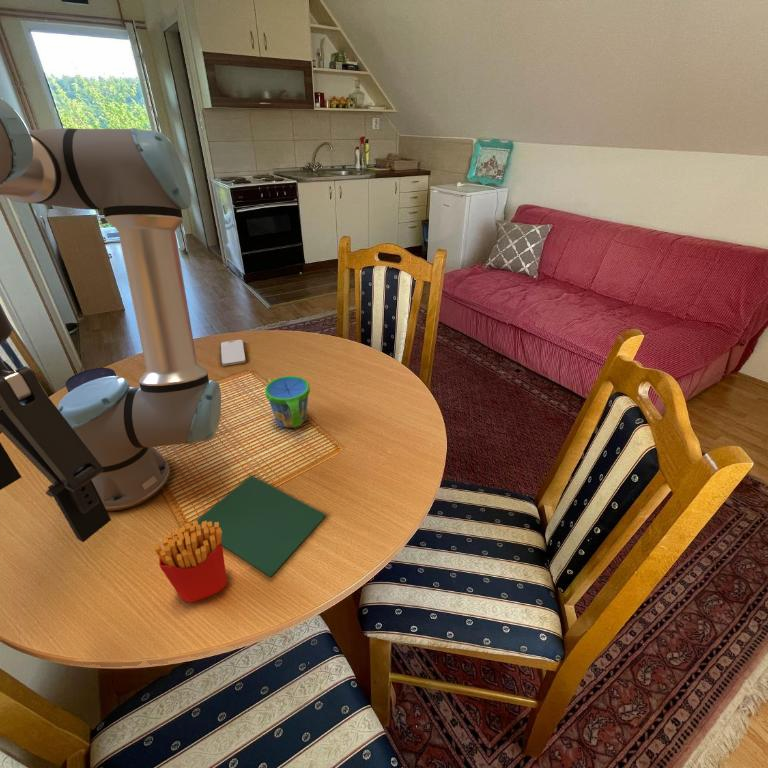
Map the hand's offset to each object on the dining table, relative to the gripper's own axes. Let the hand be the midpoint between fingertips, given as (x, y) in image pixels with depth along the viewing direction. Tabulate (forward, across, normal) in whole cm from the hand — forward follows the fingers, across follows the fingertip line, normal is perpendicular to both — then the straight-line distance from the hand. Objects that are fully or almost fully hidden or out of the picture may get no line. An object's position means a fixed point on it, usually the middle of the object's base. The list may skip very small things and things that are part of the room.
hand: (47, 506), depth 40 cm
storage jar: (+32, -51, +34) cm, 69 cm away
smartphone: (+31, -52, +78) cm, 98 cm away
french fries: (+32, -1, +13) cm, 35 cm away
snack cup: (+32, -14, +56) cm, 66 cm away
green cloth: (+32, -1, +27) cm, 42 cm away
